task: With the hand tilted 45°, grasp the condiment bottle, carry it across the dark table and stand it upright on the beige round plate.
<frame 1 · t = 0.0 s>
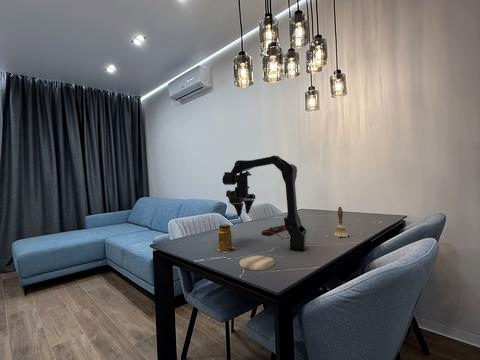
hand: (243, 214, 137), 15 cm above the table, tool pointing down, fingers open, 9 cm apart
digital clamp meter: (284, 235, 154), on the table
hand bell: (341, 236, 144), on the table
condiment: (227, 250, 128), on the table
beige round plate: (256, 263, 107), on the table
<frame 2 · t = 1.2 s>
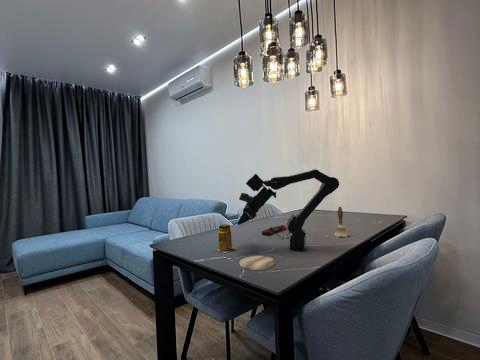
hand: (238, 222, 127), 13 cm above the table, tool tilted 45°, fingers open, 9 cm apart
nothing on the table moved.
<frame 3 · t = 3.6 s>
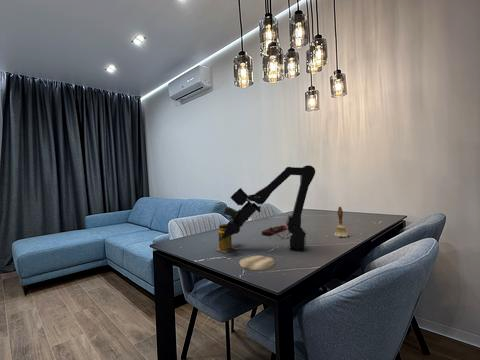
hand: (223, 236, 128), 7 cm above the table, tool tilted 45°, fingers closed on condiment, 6 cm apart
condiment: (227, 250, 128), on the table, touching gripper
everything else where it was.
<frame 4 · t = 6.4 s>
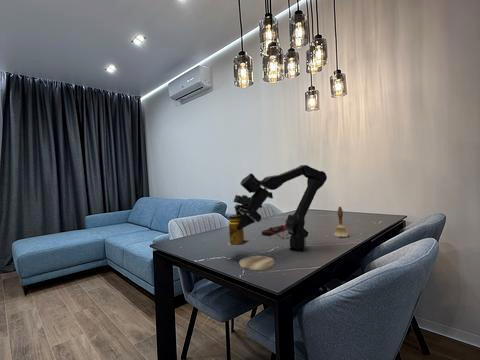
hand: (234, 228, 114), 13 cm above the table, tool tilted 45°, fingers closed on condiment, 6 cm apart
condiment: (238, 243, 115), point 6 cm above the table, touching gripper
everything else where it was.
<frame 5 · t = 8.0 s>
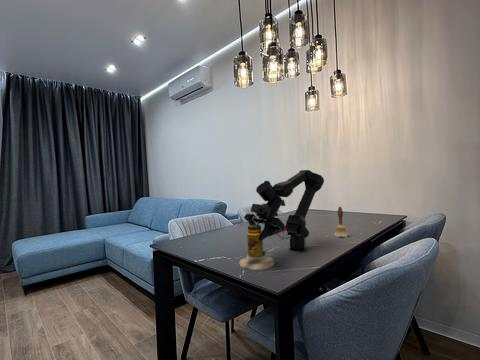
hand: (253, 239, 106), 10 cm above the table, tool tilted 45°, fingers closed on condiment, 6 cm apart
condiment: (256, 255, 108), point 3 cm above the table, touching gripper
everything else where it was.
when the fingers open (9 cm above the table, at t = 9.2 s): condiment drops 1 cm, resting on beige round plate.
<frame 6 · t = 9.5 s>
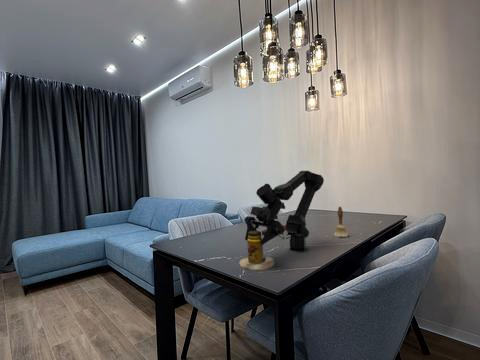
hand: (253, 242, 106), 9 cm above the table, tool tilted 45°, fingers open, 9 cm apart
condiment: (256, 261, 108), point 1 cm above the table, touching beige round plate
everything else where it was.
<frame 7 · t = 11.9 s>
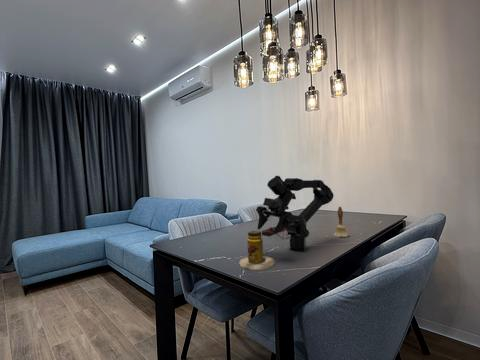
hand: (265, 231, 112), 12 cm above the table, tool tilted 40°, fingers open, 9 cm apart
nothing on the table moved.
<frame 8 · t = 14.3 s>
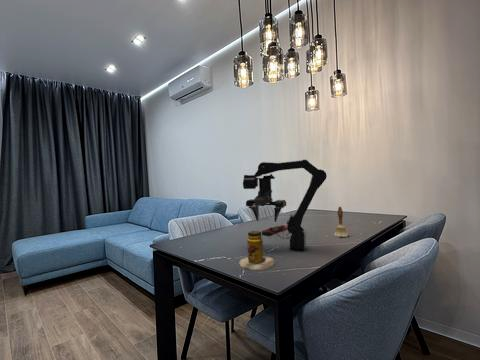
hand: (266, 221, 127), 13 cm above the table, tool pointing down, fingers open, 9 cm apart
nothing on the table moved.
at the end: condiment inside the target area on the beige round plate (0.4 cm from its centre), point 0.8 cm above the beige round plate's base; condiment tilted 0°; the gripper is holding nothing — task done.
